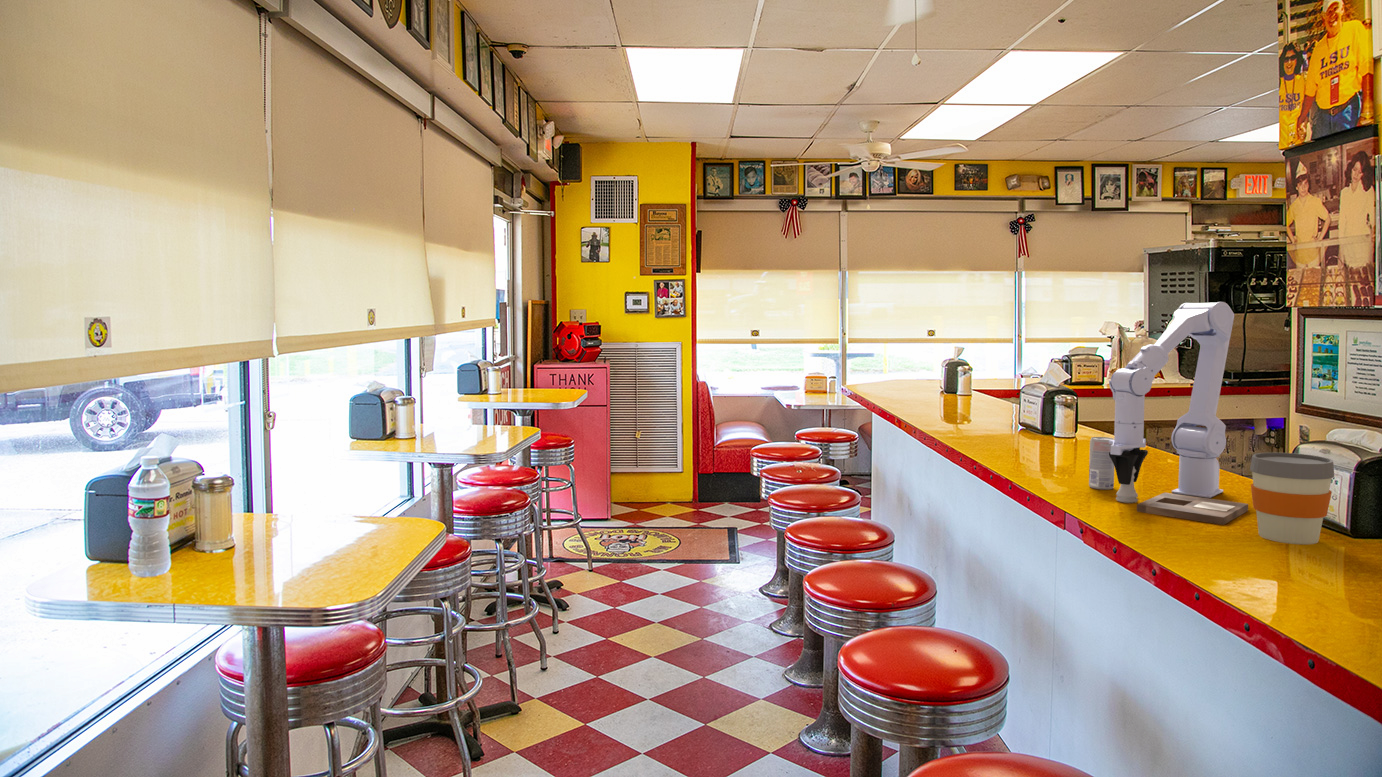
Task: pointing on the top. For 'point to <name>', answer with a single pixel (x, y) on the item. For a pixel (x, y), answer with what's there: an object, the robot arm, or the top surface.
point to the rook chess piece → (1127, 491)
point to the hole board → (1193, 508)
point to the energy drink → (1101, 464)
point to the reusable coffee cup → (1291, 495)
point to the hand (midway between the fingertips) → (1127, 482)
